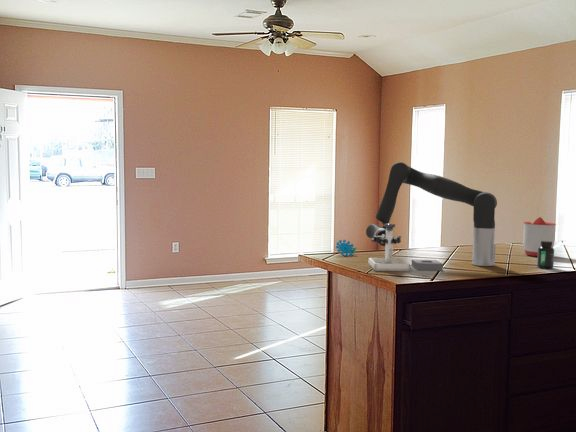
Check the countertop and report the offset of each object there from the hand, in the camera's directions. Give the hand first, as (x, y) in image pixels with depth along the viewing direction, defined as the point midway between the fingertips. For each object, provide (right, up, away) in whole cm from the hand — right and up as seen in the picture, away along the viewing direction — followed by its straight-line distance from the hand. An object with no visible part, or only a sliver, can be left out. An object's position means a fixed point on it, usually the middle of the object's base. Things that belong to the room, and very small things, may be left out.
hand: (390, 241), depth 267 cm
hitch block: (+17, -12, +4) cm, 21 cm away
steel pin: (0, -11, +4) cm, 11 cm away
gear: (-16, -9, +38) cm, 42 cm away
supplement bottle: (+72, -13, +13) cm, 75 cm away
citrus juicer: (+85, -10, +53) cm, 101 cm away
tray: (0, -12, +4) cm, 12 cm away
